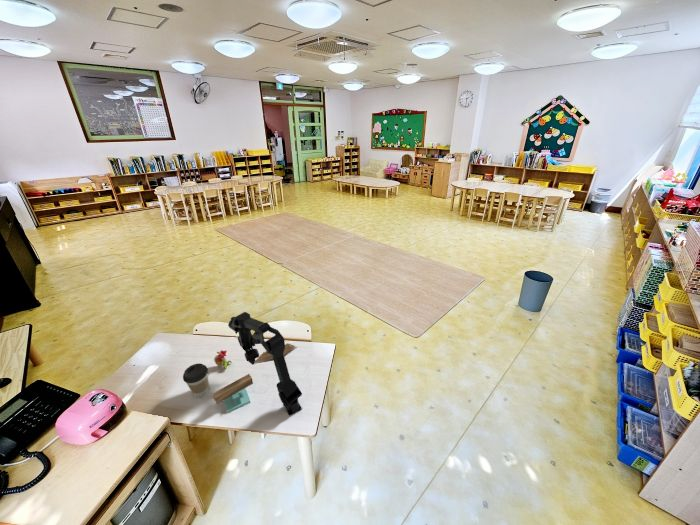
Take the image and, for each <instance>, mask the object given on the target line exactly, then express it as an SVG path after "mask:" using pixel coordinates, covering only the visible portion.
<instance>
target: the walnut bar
mask: <svg viewBox="0 0 700 525" xmlns="http://www.w3.org/2000/svg"><path fill="white" fill-rule="evenodd" d="M253 384H254V381H253V377H252V376H251V374H250V373H248V374H246V375H244V376H242V377H240V378H239V379H237V380H234V381H233V382H231V383H229V384H227V385H225V386H224V387H222V388H220V389H218V390H216V391H214V392H212V396H213V399H214V402H215V404H216V405H218V404H219V403H221V402H224V400H225V399H227V398H229V397H230V396H232V395H234V394H236V393H237V392H239V391H241V390H243V389H244V388H246V389H247V388H248V387H251V386H252V385H253Z"/></svg>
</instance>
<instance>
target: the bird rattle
mask: <svg viewBox="0 0 700 525" xmlns="http://www.w3.org/2000/svg"><path fill="white" fill-rule="evenodd" d="M227 352H228V350H222V349H221V350H220V352H219V351H217V352H216V353H217V355H215V357H214V358H213V359H214V363H215V365H216V366H217V367H224V369H225V370H226V369H227V370H228V364H229V363H232V360H227V358H226V357H227Z"/></svg>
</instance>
